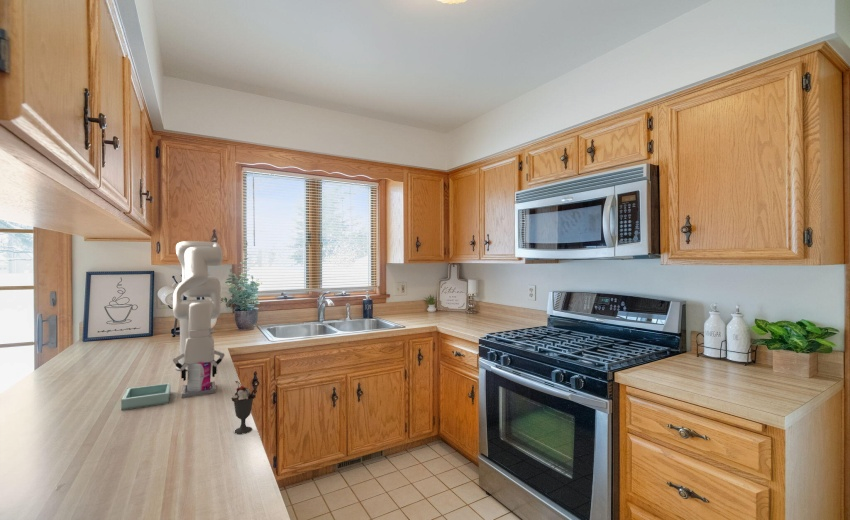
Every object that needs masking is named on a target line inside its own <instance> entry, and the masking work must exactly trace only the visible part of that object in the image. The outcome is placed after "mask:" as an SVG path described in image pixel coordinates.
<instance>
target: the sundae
mask: <svg viewBox="0 0 850 520" xmlns="http://www.w3.org/2000/svg"><path fill="white" fill-rule="evenodd" d="M235 383H236V384H238V387H236V391H235V392H234V394H233V395H232V397H231V398H230V399H231V401H232V402H233V405H234V413H235V416H236V417H237V418H238V419H239V420H240V427H237V428H236V430H235V429H234V430H235V433H237V434H236V435H243V434H242V433H245V434H248V433H250V432H251V431H252V430H253V428H252V426H247V425H246V419H248V418H249V416H250V415H251V412H252V408H253V402H254V400H255V399H256V394H255V393H254V392H255V389H252V391H251V390H250V388H248V387H244V386H243V385H241V383H240V382H239V381H238V380H235ZM247 432H248V433H247ZM235 433H234V434H235Z"/></svg>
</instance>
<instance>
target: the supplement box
mask: <svg viewBox="0 0 850 520" xmlns="http://www.w3.org/2000/svg"><path fill="white" fill-rule="evenodd" d="M211 371H212V363H211V362H209V363H197V364H191V365H188V370H187V377H186V381H187V382H186V385H187V390H186V392H193V391H201V390H208V389H211V386H210V382H211V380H212V379H211V374H212V372H211Z"/></svg>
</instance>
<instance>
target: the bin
mask: <svg viewBox="0 0 850 520" xmlns="http://www.w3.org/2000/svg"><path fill="white" fill-rule="evenodd" d="M171 385H172V384H171V382H168V383H160V384H152V385H150V384H149V385H143V386H136V387H129V388H127V389H126V391H125V392H124V394H123V396H122V398H121V407H120V408H121V409H120V410H121V411H127V410H133V408H134V409H140V408H139V407H141V408H145V407H146V406H148V407H153V405H154V406H161V405H167V403H168V404H169V401H170V397H171V392H172V391H171V390H172V389H171V388H172V386H171Z"/></svg>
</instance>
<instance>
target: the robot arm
mask: <svg viewBox="0 0 850 520" xmlns="http://www.w3.org/2000/svg"><path fill="white" fill-rule="evenodd" d="M175 253H176V256H177V259H178V261H179V263H180V266H181V282H179V284H178V285H177V286H176V288H175V289H174V291H173V294H172V315H173V317H174V318H175V319H177V320H179V321H178V323H179V355H178V356H175V357H174V358H172V362H173V364H174V365H175V370H176V371H180V372H181V373H180V374H181V376H180V377H181V379H183V381H187V371H188V365H191V364H197V363H209V362H211V371H212V372H211V374H212V378H215V375H217V373H218V372H217V371H218V370H217V367H218V365H219V364H220V363H221V362H222V360H223V359H224V357H225V355H226V354H225V353H224V352H221V351H218V350H215V341H214V335H212V334H215V333H216V329H212V328H211V327H212V320H215V319H218V318H219V317H220V315H221V301H222V300H221V296H222V293H221V287H222V286H221V281H220V279H219V278H218V277H215V276H209V268H208V267H210V266H212V267H213V266H216V267H217V266H220V265H221V264H222V263H223V259H224V256H223V254H224V253H223V250H222V247H221V246H220V244H219V243H218V242H217V241H196V240H186V241H180V242H178V243H176V245H175ZM182 296H184V297H185V298H209V299H184V300H182ZM215 355H217V356H218V359H216V360H215Z"/></svg>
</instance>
